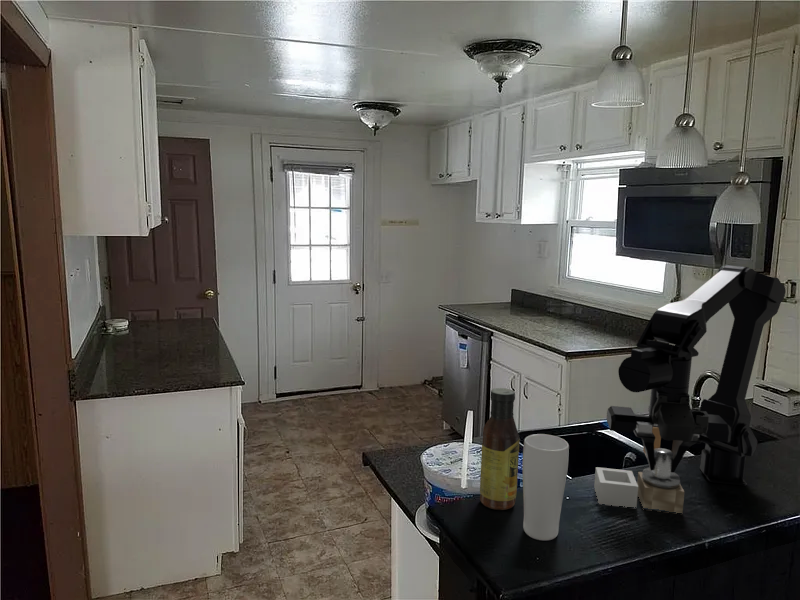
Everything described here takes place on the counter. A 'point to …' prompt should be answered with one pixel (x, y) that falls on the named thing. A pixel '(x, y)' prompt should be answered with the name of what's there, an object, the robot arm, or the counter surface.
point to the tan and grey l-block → (657, 438)
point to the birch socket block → (660, 497)
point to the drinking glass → (543, 484)
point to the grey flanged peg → (661, 471)
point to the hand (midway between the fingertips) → (661, 470)
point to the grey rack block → (616, 487)
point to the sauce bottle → (500, 453)
